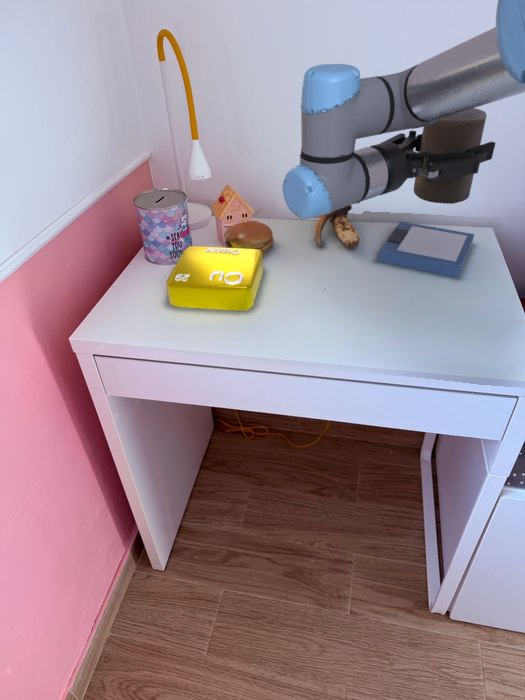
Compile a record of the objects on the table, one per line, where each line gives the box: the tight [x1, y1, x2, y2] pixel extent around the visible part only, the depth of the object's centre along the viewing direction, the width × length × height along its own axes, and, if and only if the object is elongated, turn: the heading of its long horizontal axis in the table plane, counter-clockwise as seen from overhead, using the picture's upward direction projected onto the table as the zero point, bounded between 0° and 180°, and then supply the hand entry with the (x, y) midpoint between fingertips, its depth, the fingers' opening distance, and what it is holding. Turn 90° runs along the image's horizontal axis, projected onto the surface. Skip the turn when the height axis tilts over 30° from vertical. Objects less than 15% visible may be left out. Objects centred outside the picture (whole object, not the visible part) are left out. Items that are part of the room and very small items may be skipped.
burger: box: [223, 220, 275, 255], centre depth 105 cm, size 10×9×5 cm
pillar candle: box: [413, 107, 488, 205], centre depth 89 cm, size 10×10×15 cm
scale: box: [377, 221, 475, 279], centre depth 102 cm, size 15×14×3 cm
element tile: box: [165, 245, 264, 312], centre depth 93 cm, size 15×15×5 cm
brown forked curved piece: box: [314, 205, 360, 250], centre depth 108 cm, size 9×5×18 cm
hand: (466, 143), depth 91 cm, fingers closed on pillar candle, 10 cm apart
